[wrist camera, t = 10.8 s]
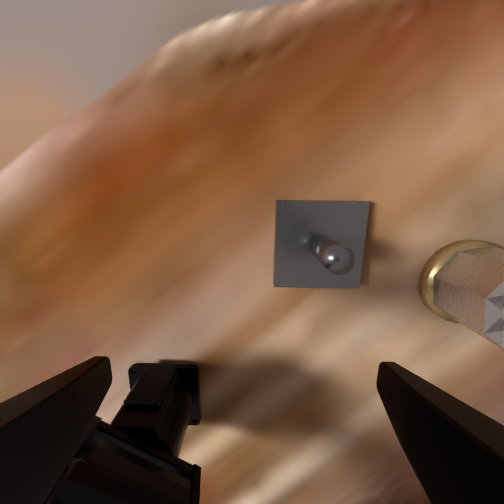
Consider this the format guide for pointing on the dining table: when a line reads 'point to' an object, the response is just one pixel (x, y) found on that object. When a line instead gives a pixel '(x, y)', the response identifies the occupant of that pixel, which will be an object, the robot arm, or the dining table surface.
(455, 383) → the dining table surface
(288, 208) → the stand
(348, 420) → the dining table surface
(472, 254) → the collar
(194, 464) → the robot arm
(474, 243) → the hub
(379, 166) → the dining table surface
